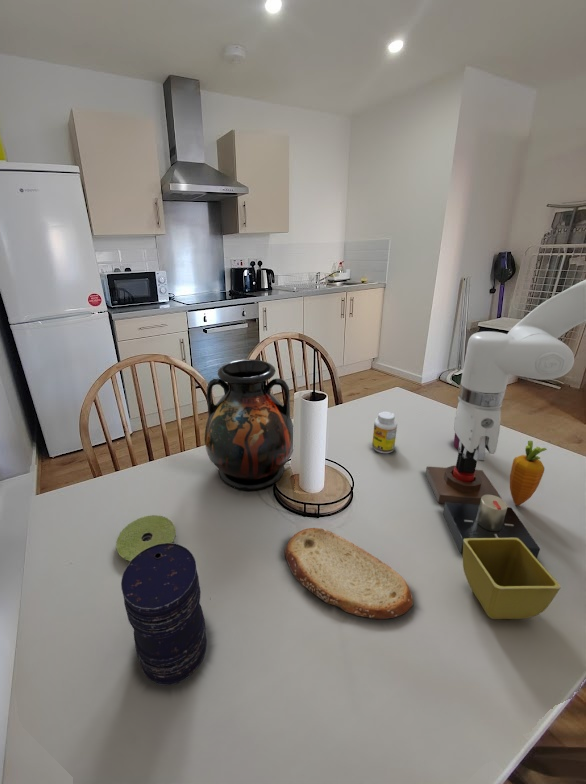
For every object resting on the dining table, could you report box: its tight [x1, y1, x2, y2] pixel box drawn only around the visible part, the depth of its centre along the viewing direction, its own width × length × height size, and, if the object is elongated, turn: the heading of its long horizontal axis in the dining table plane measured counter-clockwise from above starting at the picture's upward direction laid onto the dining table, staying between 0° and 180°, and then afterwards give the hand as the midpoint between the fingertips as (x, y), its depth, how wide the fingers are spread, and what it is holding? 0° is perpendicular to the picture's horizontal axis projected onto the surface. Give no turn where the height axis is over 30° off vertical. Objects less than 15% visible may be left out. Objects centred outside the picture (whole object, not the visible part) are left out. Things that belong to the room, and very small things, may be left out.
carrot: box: [509, 440, 548, 506], centre depth 72 cm, size 5×5×15 cm
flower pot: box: [462, 538, 562, 620], centre depth 54 cm, size 9×9×9 cm
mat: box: [115, 514, 177, 562], centre depth 69 cm, size 11×11×2 cm
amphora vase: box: [204, 358, 294, 493], centre depth 84 cm, size 22×22×28 cm
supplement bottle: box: [371, 411, 398, 454], centre depth 94 cm, size 6×6×10 cm
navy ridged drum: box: [120, 542, 207, 686], centre depth 49 cm, size 10×10×15 cm
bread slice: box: [284, 527, 414, 620], centre depth 61 cm, size 18×18×4 cm
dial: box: [476, 495, 509, 531], centre depth 65 cm, size 4×4×5 cm
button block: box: [424, 465, 503, 505], centre depth 79 cm, size 12×10×4 cm
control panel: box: [442, 502, 541, 560], centre depth 67 cm, size 12×10×3 cm
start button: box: [453, 465, 475, 482], centre depth 78 cm, size 4×4×2 cm
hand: (464, 470), depth 77 cm, fingers closed
